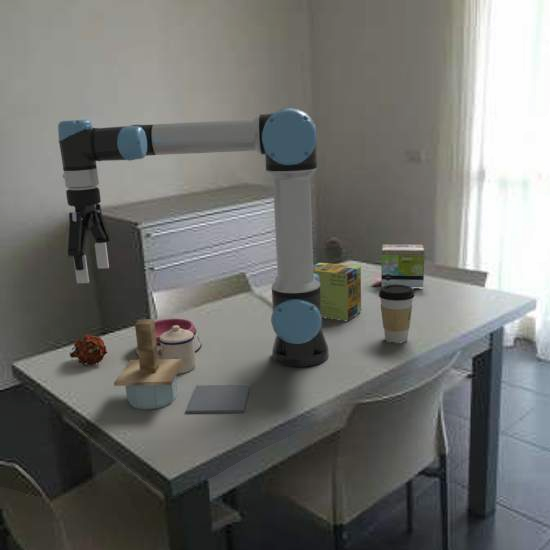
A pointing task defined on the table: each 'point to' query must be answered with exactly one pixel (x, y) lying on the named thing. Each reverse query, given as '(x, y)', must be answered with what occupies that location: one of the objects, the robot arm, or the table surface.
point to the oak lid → (148, 361)
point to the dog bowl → (167, 325)
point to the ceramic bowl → (151, 395)
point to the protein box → (339, 290)
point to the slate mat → (218, 399)
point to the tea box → (402, 265)
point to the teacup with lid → (178, 347)
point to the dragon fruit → (89, 350)
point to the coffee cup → (396, 311)
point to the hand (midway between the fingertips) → (93, 275)
